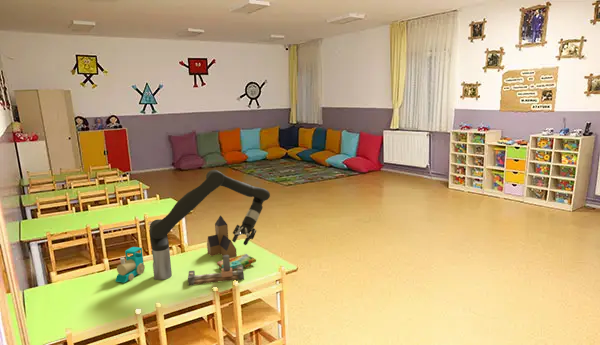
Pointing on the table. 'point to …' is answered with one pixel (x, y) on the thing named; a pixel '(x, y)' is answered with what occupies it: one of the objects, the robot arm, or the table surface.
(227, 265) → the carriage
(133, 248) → the toy train
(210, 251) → the toy building blocks
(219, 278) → the rail bed
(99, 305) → the table surface
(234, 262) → the puzzle game
